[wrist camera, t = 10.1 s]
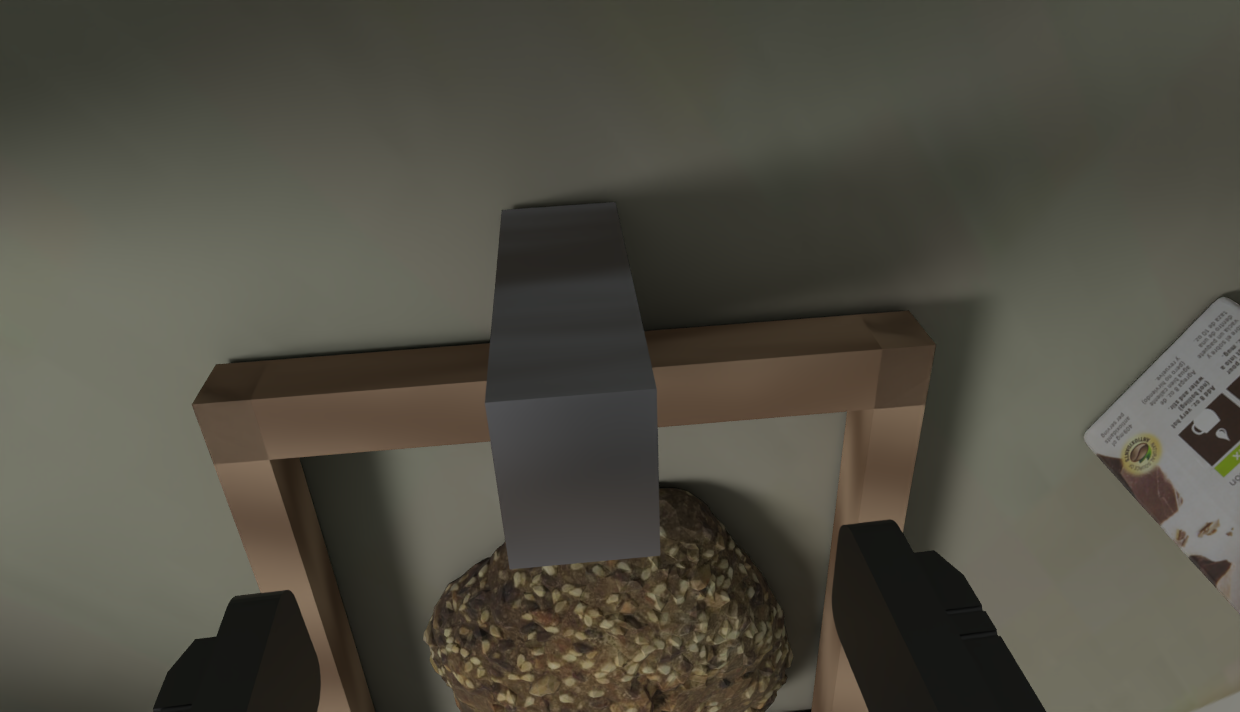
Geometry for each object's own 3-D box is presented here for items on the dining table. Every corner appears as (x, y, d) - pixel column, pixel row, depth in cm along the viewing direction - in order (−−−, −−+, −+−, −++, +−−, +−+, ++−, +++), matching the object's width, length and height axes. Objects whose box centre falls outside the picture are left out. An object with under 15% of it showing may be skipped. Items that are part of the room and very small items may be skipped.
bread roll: (715, 442, 28) (748, 552, 24) (808, 669, 34) (847, 787, 30) (363, 567, 29) (335, 691, 25) (515, 762, 36) (512, 886, 31)
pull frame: (171, 233, 22) (-23, 443, 14) (928, 180, 23) (1125, 350, 15) (360, 790, 35) (311, 1060, 27) (842, 740, 36) (926, 986, 28)
